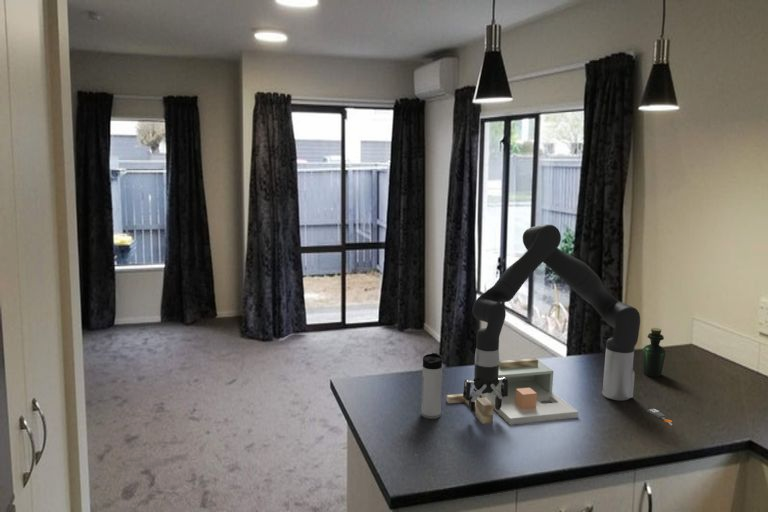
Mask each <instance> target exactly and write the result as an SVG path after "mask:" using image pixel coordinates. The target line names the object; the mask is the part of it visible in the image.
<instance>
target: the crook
mask: <svg viewBox="0 0 768 512" xmlns="http://www.w3.org/2000/svg"><path fill="white" fill-rule="evenodd" d="M446 402H447V404H456V403H459V404H460V403H465V404H466V405H467V406H468V407H469V400H468V401H467V400H466V399H465V398H464V397H463V393H455V394H446ZM474 413H475V417H476V418H477V419H478V420H479V421H480V422H481V424H483V425H484V424H493V423H494V405H493V404H492V403H491V402H490V401H489V400H488V399H487V398H486V397H484V398H483V397H477V398H476V399H475V412H474Z"/></svg>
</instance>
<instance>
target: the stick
mask: <svg viewBox="0 0 768 512" xmlns="http://www.w3.org/2000/svg"><path fill="white" fill-rule="evenodd" d="M538 360H539V359H538V358H536V357H534V358H522V359H521V358H520V359H519V358H517V359H509V360H508V359H507V360H505V359H504V360H499V367H500V368H501V369H506V368H519V367H531V366H538Z"/></svg>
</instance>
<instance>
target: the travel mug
mask: <svg viewBox="0 0 768 512" xmlns="http://www.w3.org/2000/svg"><path fill="white" fill-rule="evenodd" d="M421 372H422V373H421V376H422V377H421V379H422V381H421V416H422V417H423V418H425V419H429V420H436V419H439V418H440V417H441V416H442V414H441V413H442V412H441V410H442V387H443V386H442V383H443V357H442V356H441V355H440V354H438V352H432V353H428V354H425V355H424V356H423V357H422V371H421Z"/></svg>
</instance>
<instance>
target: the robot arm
mask: <svg viewBox="0 0 768 512" xmlns="http://www.w3.org/2000/svg"><path fill="white" fill-rule="evenodd" d="M561 241H562V235H561V232H560V230H559V229H558V227H556V226H555V225H553V224H541V225H540V224H539V225H535V226H531V227H528V228H527V229H526V230H524V232H523V235H522V243H523V246H524V247H525V248H526V250H527V251H526V252H525V253H524V254H523V255H522V256H521V257H520V258H518V259H517V260H516V261H515V262H514V263H512V264H511V265H510V266H509V267H507V268H506V270H505V271H503V273H502V274H501V275H500V276H499V278H498V280H496V282H495V284H494V285H493V286H491V287H490V288H488V289H487V290H486V291H485V292H483V293H482V294H481V295H480V296H478V297H477V299H476V300H475V301H474V303H473V305H472V309H471V311H472V315H473V317H474V318H475V319H477V320H479V321H482V322H485V323H487V325H486V327H483V328H479V329H478V330H477V333H476V338H475V339H476V341H475V342H476V343H475V345H476V346H475V347H476V348H475V353H474V369H473V370H474V372H473V374H474V378H473V380H468V379H465V380H464V383H463V393H462V394H463V397H464V398H465V399H466V400H467V401H468V400H469V406H468V409H469V411H470V412H471V413H473V414H474V413H475V400H476V398H480V397H481V395H480V394H481V393H482V394H485V393H492V392H494V393H495V395H496V396H497V397H495V408H496V409H497V410H500V408H501V404H502V398H503V397H507V396H508V380H507V379H506V378H505V377H504V376H502V377H501V378H498V374H499V361H500V336H501V332H502V330H503V327H504V323H505V320H506V315H507V312H506V308H505V306H504V304H503V303H508V302H510V301H512V300H513V298H514V297H515V296H516V294H517V293H518V292H519V291H520V289H521V288H522V286H523V285H524V284H525V282H526V281H527V280H528V279H529V278H530V276H531V275H532V274H533V273H534V271H536V270H537V269H538V268H539V267H540V266H541V264H545V266H547V267H548V268H549V269H550V270H551V271H552V272H553V273H555V274H556V275H557V276H558V277H559V278H560V279H562V281H563V282H564V283H565V284H566V285H567V286H568V287H570V289H571V290H572V291H574V292H575V293H576V294H577V295H578V296H579V297H580V298H581V299H583V300H584V301H586V302H587V303H588V304H589V305H591V306H592V307H593V308H594V309H595V311H596V312H597V313H598V314H599V315H600V316H601V318H602V319H603V320H604V321H605V322H606V324H607V325H609V326H610V327H611V328H614V332H613V337H610V338H608V339H607V340H606V343H605V355H604V357H605V358H604V368H603V380H602V381H603V382H602V392H601V393H602V396H604V397H605V398H607V399H610V400H614V401H627V400H630V399H633V396H634V387H635V374H636V372H635V371H634V369H633V368H634V357H635V347H636V346H637V343H638V342H639V341H638V339H639V335H640V328H641V326H640V325H641V314H640V311H638V309H637V308H635V307H633V306H632V305H630V304H627V303H624V302H622V301H620V300H619V299H617V298H616V297H615V296H614V295H612V294H611V293H610V292H609V291H608V290H607V289H606V288H605V286H604V283H603V282H602V279H601V278H600V277H599V275H598V274H597V273H596V272H595V271H594V270H593V269H592V268H591V266H589V265H588V264H586V263H585V262H584V261H582V260H581V259H578V258H576V257H574V256H572V255H570V254H568V253H566V252H564V251H562V250H561V249H559V246H560V244H561ZM499 382H500V384H501V392H499V391H498V390H497V388H496V386H497V385H498V384H499ZM473 386H474V387H473ZM471 389H472V390H471ZM477 390H478V391H477Z"/></svg>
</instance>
